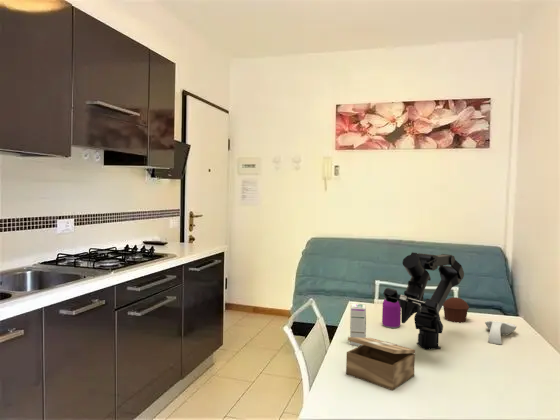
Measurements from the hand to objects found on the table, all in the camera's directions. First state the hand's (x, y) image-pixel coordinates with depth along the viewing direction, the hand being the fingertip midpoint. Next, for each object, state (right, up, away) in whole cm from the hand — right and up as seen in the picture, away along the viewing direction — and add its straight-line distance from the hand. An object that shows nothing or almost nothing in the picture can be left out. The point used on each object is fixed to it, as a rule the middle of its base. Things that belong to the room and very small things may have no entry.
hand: (402, 322), depth 146 cm
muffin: (+39, -12, +52) cm, 66 cm away
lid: (-10, -5, -11) cm, 16 cm away
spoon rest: (+48, -14, +29) cm, 58 cm away
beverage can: (+7, -12, +40) cm, 43 cm away
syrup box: (-12, -13, +18) cm, 25 cm away
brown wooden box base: (-10, -13, -11) cm, 20 cm away
